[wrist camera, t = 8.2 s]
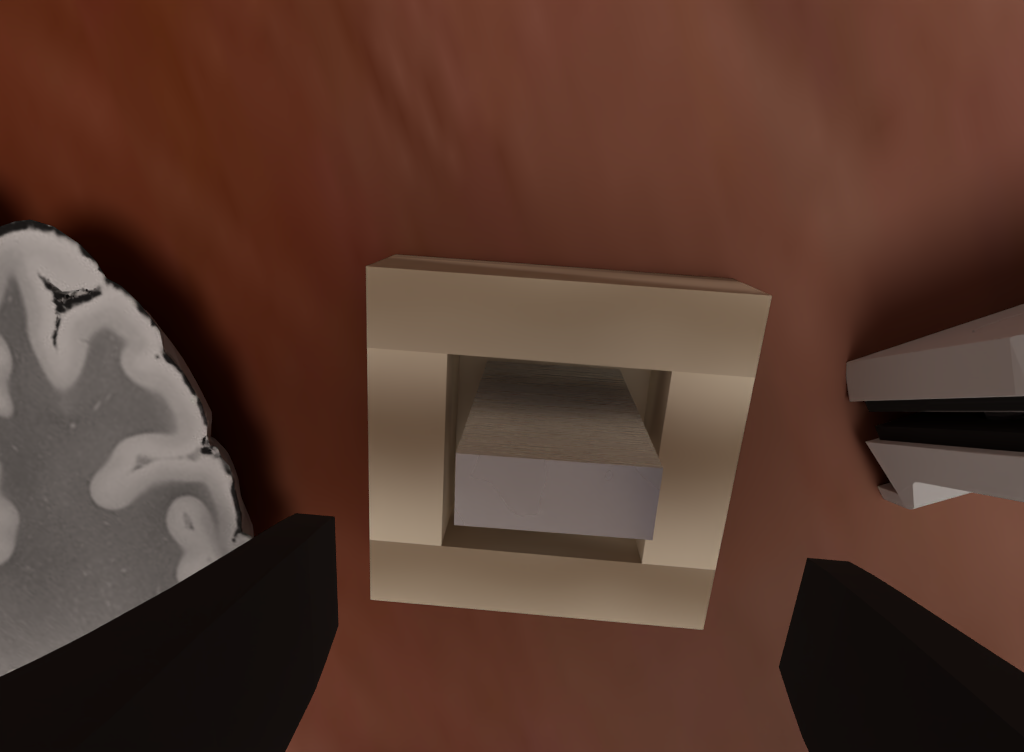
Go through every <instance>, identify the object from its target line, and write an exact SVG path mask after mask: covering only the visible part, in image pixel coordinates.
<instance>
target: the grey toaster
mask: <svg viewBox="0 0 1024 752" xmlns="http://www.w3.org/2000/svg"><path fill="white" fill-rule="evenodd" d="M846 380H847V387H848V394H849V401H865V403H866V405H867V408H868V410H869V412H919V413H916V414H912V415H909V416H906V417H903V418H899V419H896V420H893V421H890V422H887V423H883V424H880V425H877V426H875V428H876V431H877V433H878V436H879V438H877V439H873V440H870V441H867V442H866V443H867V445H868V447H869V448H870V450H871V451H872V453H873V455H874V456H875V458H876V459H877V461H878V463H879V464H880V466H881V467H882V469H883V471H884V472H885V474H886V475H887V477H888V479H889V480H890V483H887V484H884V485H880V486H878V489H879V491H880V493H881V495H882V497H883V499H885V500H888V501H890V502H892V503H895V504H897V505H900V506H902V507H904V508H907V509H915V508H918V507H922V506H925V505H929V504H933V503H936V502H940V501H943V500H947V499H950V498H954V497H957V496H961V495H964V494H968V493H971V492H973V493H978V494H983V495H989V496H994V497H999V498H1005V499H1010V500H1015V501H1020V502H1024V304H1022V305H1019V306H1016V307H1013V308H1010V309H1007V310H1004V311H1001V312H998V313H995V314H991V315H988V316H985V317H982V318H979V319H976V320H973V321H970V322H967V323H964V324H961V325H958V326H955V327H952V328H949V329H946V330H943V331H940V332H937V333H934V334H931V335H928V336H925V337H922V338H919V339H916V340H913V341H910V342H907V343H904V344H901V345H898V346H895V347H892V348H889V349H886V350H883V351H879V352H876V353H873V354H870V355H867V356H864V357H861V358H858V359H855V360H852V361H849V362H847V364H846Z"/></svg>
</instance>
